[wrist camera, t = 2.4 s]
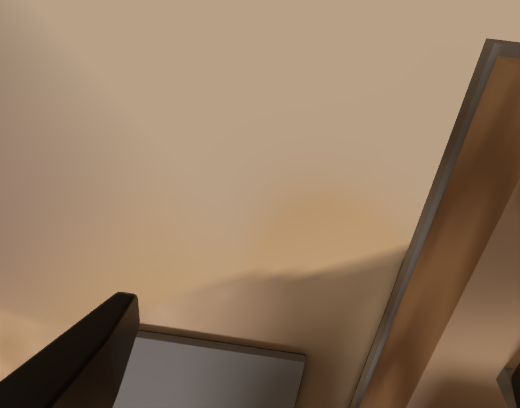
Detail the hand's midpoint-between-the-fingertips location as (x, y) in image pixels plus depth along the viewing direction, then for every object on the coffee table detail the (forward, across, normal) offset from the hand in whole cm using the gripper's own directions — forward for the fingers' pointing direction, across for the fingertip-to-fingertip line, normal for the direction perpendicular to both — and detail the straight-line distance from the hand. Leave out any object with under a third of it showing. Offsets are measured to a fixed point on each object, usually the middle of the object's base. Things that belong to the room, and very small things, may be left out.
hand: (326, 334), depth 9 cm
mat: (+7, +4, +14) cm, 16 cm away
